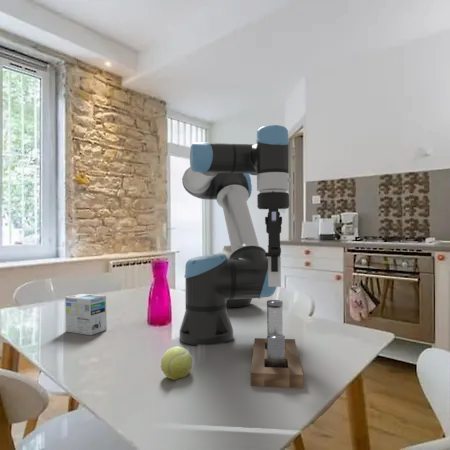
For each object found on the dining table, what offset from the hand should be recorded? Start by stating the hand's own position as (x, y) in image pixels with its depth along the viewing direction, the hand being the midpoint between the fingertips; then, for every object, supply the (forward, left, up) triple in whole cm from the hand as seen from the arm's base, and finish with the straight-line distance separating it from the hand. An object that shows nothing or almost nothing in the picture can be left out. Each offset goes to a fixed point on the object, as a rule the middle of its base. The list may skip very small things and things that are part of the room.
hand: (274, 281), depth 87 cm
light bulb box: (-57, +18, -18) cm, 63 cm away
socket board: (0, -6, -18) cm, 19 cm away
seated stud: (0, -11, -18) cm, 21 cm away
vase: (-16, +58, -18) cm, 63 cm away
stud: (0, 0, -18) cm, 18 cm away
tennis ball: (-21, -13, -18) cm, 30 cm away
